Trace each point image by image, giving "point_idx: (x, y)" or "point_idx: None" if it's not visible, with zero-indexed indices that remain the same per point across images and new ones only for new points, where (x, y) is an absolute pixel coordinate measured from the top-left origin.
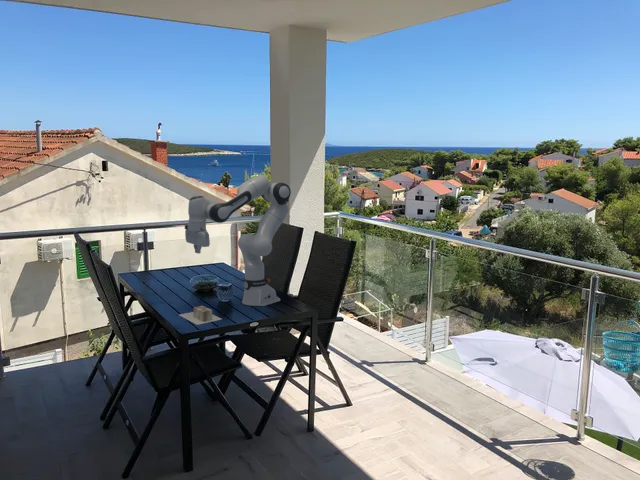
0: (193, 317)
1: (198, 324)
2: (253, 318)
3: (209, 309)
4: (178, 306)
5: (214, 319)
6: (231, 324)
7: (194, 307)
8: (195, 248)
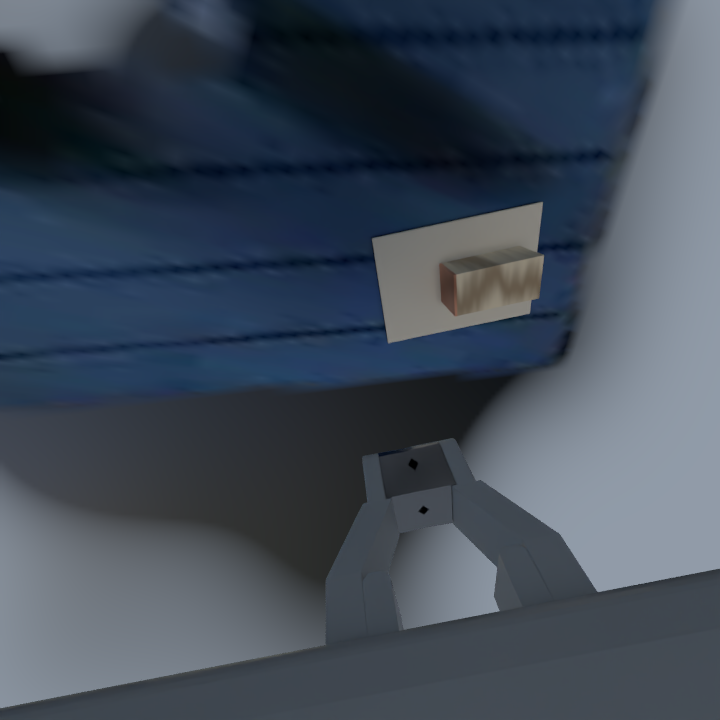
0: None
1: (529, 308)
2: (630, 16)
3: (526, 263)
4: (257, 314)
5: (522, 236)
6: (607, 183)
7: (459, 313)
8: (391, 553)
